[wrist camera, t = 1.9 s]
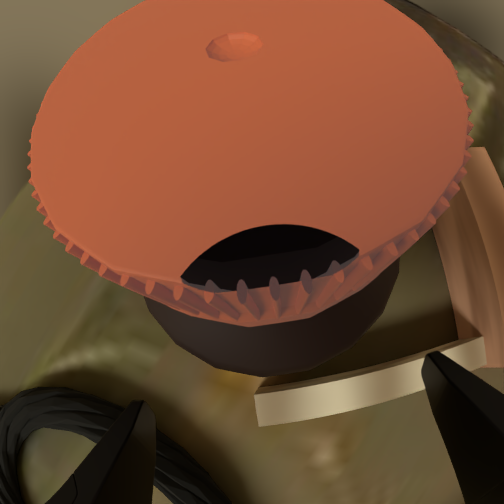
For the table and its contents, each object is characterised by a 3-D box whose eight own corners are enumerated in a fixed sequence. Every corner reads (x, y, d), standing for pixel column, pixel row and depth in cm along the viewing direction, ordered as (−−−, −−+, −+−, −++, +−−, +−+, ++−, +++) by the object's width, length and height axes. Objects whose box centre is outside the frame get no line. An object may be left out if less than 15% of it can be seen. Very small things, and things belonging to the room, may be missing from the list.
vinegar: (343, 297, 21) (547, 72, 2) (286, 376, 20) (313, 592, 1) (266, 244, 23) (214, -55, 4) (209, 318, 22) (-59, 169, 3)
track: (453, 184, 23) (484, 147, 17) (497, 351, 18) (544, 347, 13) (233, 215, 24) (219, 175, 18) (263, 418, 19) (255, 442, 14)
